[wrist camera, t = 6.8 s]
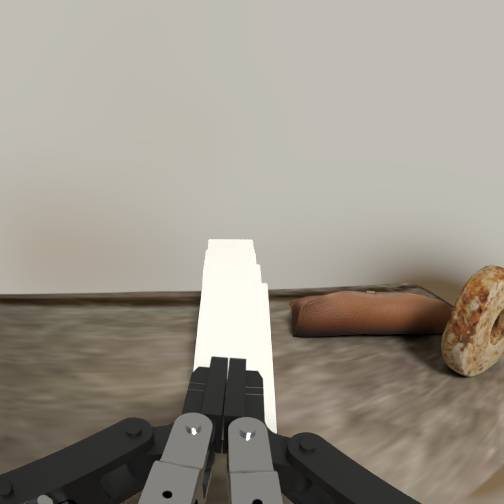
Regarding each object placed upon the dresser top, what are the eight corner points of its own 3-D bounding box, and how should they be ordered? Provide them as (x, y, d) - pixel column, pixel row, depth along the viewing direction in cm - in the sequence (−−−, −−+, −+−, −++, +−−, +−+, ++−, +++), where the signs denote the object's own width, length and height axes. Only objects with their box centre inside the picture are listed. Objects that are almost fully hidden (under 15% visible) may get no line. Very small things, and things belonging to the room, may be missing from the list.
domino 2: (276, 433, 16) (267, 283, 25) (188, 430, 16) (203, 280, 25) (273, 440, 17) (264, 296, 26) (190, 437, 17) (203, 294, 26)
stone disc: (447, 393, 21) (490, 282, 18) (423, 370, 24) (457, 264, 21) (507, 365, 23) (540, 274, 20) (485, 348, 27) (513, 261, 24)
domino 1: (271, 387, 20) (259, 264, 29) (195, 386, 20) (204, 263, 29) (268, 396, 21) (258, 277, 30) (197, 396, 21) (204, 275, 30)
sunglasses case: (419, 304, 37) (443, 272, 32) (432, 352, 33) (461, 324, 28) (284, 300, 37) (294, 263, 32) (286, 356, 32) (297, 325, 27)
